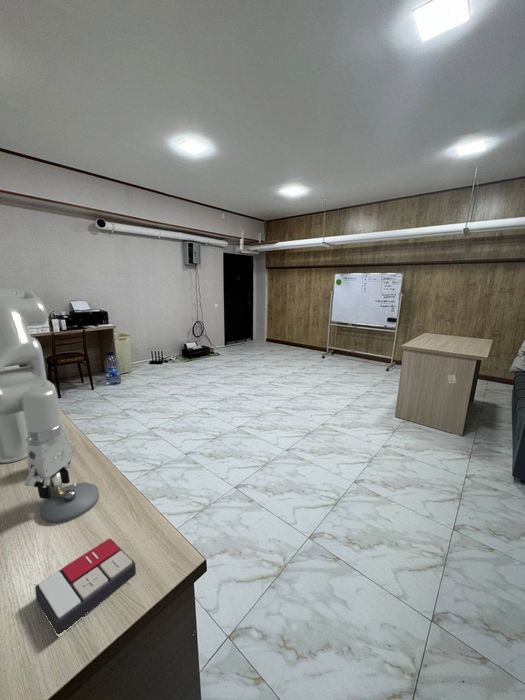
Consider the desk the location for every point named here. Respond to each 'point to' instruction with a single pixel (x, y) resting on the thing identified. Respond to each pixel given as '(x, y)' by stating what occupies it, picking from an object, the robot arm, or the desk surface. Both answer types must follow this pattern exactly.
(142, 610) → the desk surface
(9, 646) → the desk surface
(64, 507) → the dial plate
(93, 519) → the desk surface
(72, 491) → the light bulb
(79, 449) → the desk surface
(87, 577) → the calculator
